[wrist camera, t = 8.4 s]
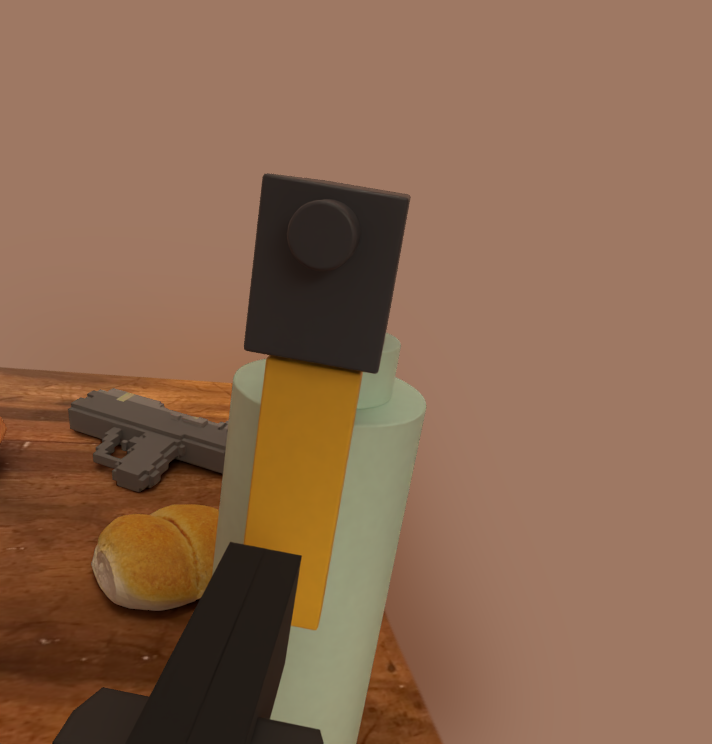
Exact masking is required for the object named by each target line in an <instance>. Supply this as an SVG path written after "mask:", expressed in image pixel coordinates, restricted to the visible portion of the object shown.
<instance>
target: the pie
mask: <svg viewBox="0 0 712 744" xmlns="http://www.w3.org/2000/svg"><path fill="white" fill-rule="evenodd" d="M6 431H7V428H6V426H5V424H4V422H3V420H2V418H1V417H0V444H1V442H2V440H3V438H4V436H5V433H6Z"/></svg>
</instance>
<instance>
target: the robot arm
mask: <svg viewBox="0 0 712 744" xmlns="http://www.w3.org/2000/svg"><path fill="white" fill-rule="evenodd" d="M301 558H302V556H301V555H296V554H291V553H286V552H281V551H275V550H270V549H265V548H260V547H255V546H250V545H244V544H239V543H234V542H230V543H229V545H228V547H227V549H226V551H225V552H224V554H223V556H222V558H221V560H220V562H219V564H218V566H217V568H216V570H215V572H214V574H213V576H212V577H211V579H210V581H209V583H208V585H207V587H206V589H205V591H204V593H203V595H202V597H201V599H200V601H199V603H198V604H197V606H196V608H195V610H194V612H193V614H192V616H191V618H190V620H189V622H188V624H187V626H186V628H185V629H184V631H183V633H182V635H181V637H180V639H179V641H178V643H177V645H176V647H175V649H174V651H173V653H172V654H171V656H170V658H169V660H168V662H167V664H166V666H165V668H164V670H163V672H162V674H161V676H160V678H159V679H158V681H157V683H156V685H155V687H154V689H153V691H152V693H151V695H150V697H148V696H143V695H138V694H133V693H128V692H123V691H118V690H114V689H109V688H104V687H103V688H101V689H100V690H99V691H98V692H96V693H95V694H94V695H92V696H91V697H90V698H89V699H87V700H86V701H85V702H84V703H82V704H81V705H80V706H79V707H77V708H76V709H75V710H74V711H73V712H72V713H71V715H70V716H69V718H68V720H67V721H66V723H65V724H64V726H63V727H62V729H61V730H60V732H59V733H58V735H57V736H56V738H55V739H54V741H53V743H52V744H324V742H323V739H322V735H321V731H320V729H315V728H310V727H305V726H300V725H296V724H291V723H286V722H281V721H276V720H271V719H270V717H271V713H272V710H273V706H274V702H275V699H276V695H277V691H278V688H279V684H280V680H281V676H282V673H283V669H284V665H285V660H286V654H287V647H288V641H289V635H290V628H291V622H292V615H293V609H294V603H295V596H296V590H297V584H298V577H299V571H300V564H301Z"/></svg>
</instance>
